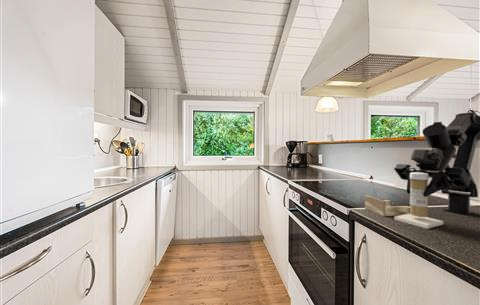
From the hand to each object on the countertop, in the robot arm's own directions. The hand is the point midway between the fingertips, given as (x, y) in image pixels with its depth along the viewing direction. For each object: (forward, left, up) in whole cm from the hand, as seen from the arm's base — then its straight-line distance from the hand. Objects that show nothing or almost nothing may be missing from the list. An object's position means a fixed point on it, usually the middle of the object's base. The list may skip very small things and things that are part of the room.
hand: (415, 194), depth 70 cm
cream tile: (-1, 0, -9) cm, 9 cm away
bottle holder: (-4, -11, -9) cm, 15 cm away
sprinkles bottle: (-1, 0, -7) cm, 7 cm away
